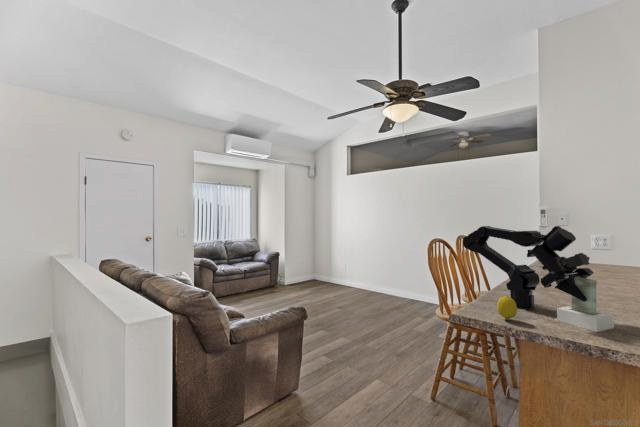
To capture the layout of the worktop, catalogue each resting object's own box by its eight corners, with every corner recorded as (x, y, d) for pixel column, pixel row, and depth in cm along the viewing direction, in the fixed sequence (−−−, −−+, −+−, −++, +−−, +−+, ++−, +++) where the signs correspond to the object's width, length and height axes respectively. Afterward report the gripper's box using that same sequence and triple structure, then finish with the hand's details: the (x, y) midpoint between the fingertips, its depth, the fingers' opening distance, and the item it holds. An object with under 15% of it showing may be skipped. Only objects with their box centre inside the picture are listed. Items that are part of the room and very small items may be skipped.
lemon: (493, 317, 101) (493, 293, 101) (510, 317, 101) (510, 293, 101) (503, 322, 95) (503, 297, 96) (521, 322, 95) (520, 297, 95)
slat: (571, 318, 96) (571, 277, 96) (577, 317, 97) (577, 277, 97) (590, 323, 91) (590, 281, 91) (596, 322, 92) (596, 280, 92)
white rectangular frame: (557, 320, 97) (556, 308, 97) (573, 317, 100) (573, 305, 100) (597, 332, 87) (596, 318, 87) (613, 327, 90) (613, 314, 90)
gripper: (550, 246, 94) (593, 288, 84) (586, 243, 101) (629, 283, 91) (525, 266, 102) (562, 308, 91) (560, 263, 108) (598, 302, 98)
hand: (589, 300), depth 93 cm, fingers closed on slat, 3 cm apart
